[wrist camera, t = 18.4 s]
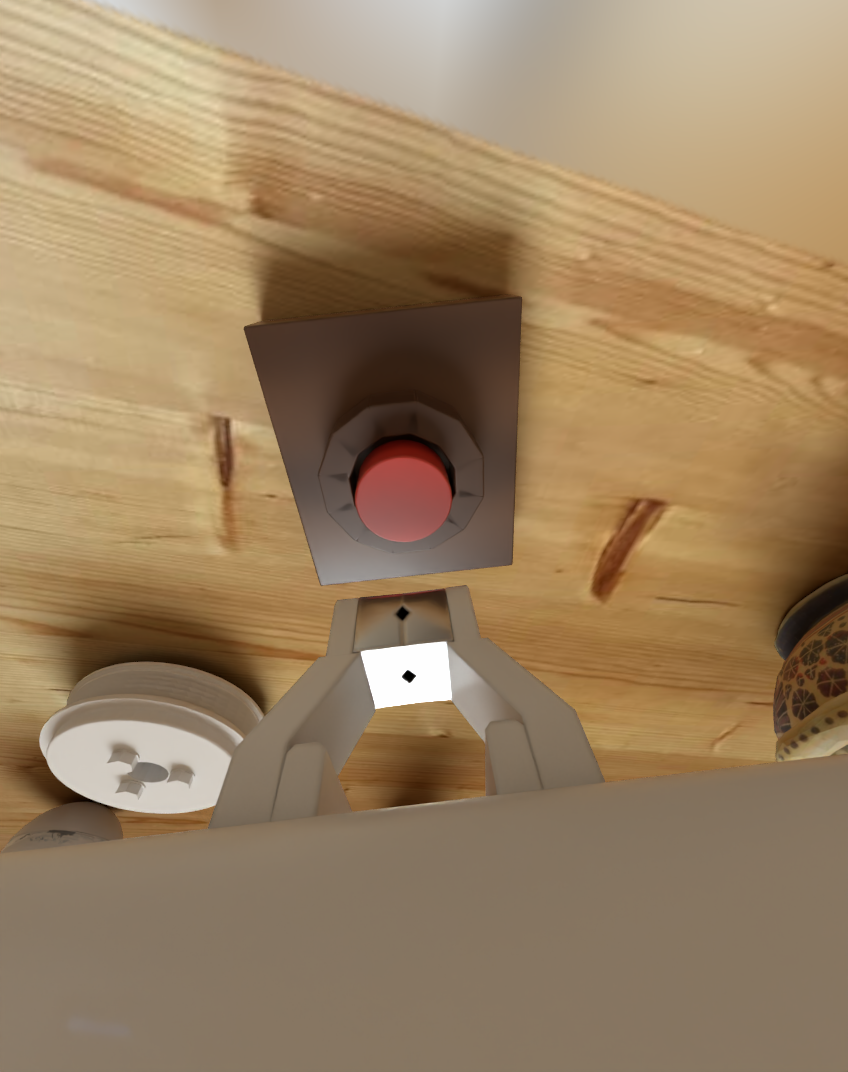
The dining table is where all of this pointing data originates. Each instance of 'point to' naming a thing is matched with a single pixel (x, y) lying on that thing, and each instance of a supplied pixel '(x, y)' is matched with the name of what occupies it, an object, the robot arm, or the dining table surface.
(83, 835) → the bath bomb
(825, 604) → the ceramic bowl
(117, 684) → the lid
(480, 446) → the button block
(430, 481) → the button
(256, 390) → the dining table surface
